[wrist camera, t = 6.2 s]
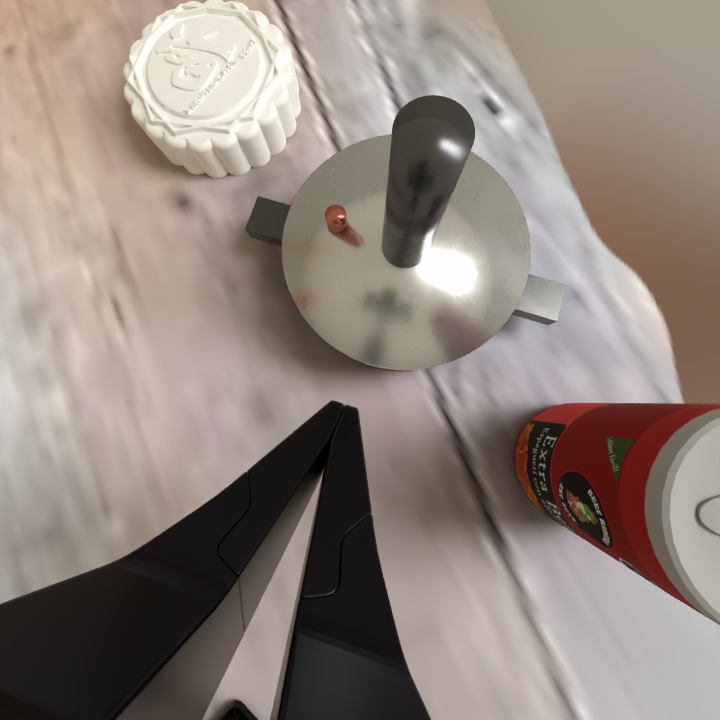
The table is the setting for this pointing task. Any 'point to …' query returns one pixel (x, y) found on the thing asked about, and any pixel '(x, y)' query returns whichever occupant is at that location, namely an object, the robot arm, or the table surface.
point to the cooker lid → (407, 243)
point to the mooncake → (213, 87)
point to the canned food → (634, 487)
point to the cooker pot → (534, 304)
